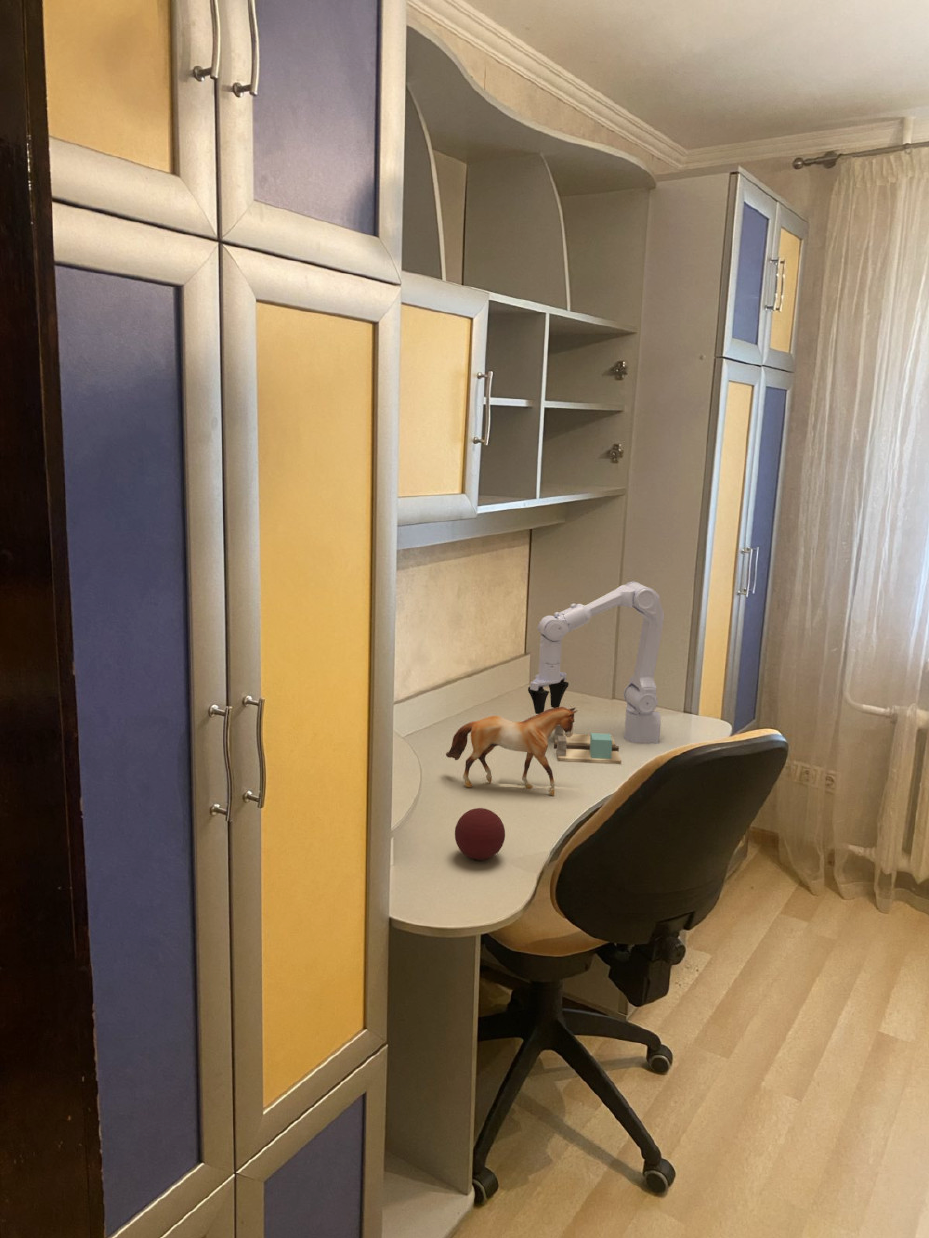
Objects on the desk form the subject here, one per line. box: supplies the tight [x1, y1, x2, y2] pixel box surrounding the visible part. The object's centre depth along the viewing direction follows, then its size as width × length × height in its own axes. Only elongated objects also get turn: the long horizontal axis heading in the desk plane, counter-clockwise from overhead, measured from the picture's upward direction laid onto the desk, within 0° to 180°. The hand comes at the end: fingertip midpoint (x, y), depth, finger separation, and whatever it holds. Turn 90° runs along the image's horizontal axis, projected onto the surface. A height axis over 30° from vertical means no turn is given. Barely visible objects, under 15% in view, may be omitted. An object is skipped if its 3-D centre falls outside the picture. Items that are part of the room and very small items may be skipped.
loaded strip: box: [555, 736, 622, 765], centre depth 237 cm, size 16×7×5 cm, turn 88°
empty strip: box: [553, 725, 616, 746], centre depth 248 cm, size 16×7×5 cm, turn 88°
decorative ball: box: [454, 807, 506, 861], centre depth 182 cm, size 10×10×10 cm
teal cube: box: [590, 732, 612, 759], centre depth 236 cm, size 5×5×5 cm
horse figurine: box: [445, 706, 578, 796], centre depth 216 cm, size 31×8×21 cm, turn 78°
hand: (547, 710), depth 245 cm, fingers open, 7 cm apart
